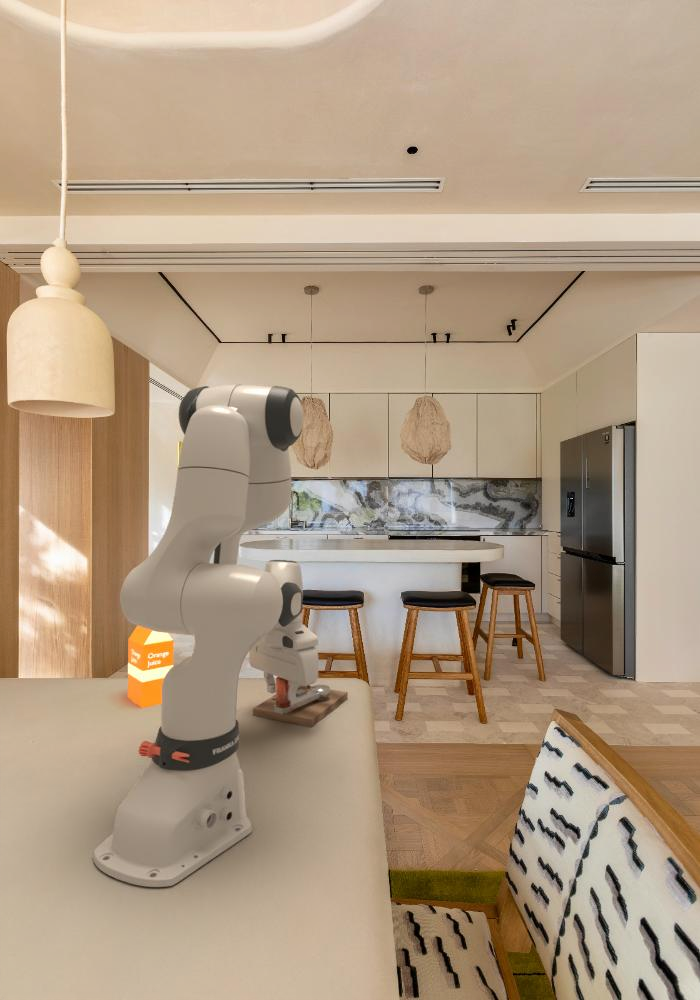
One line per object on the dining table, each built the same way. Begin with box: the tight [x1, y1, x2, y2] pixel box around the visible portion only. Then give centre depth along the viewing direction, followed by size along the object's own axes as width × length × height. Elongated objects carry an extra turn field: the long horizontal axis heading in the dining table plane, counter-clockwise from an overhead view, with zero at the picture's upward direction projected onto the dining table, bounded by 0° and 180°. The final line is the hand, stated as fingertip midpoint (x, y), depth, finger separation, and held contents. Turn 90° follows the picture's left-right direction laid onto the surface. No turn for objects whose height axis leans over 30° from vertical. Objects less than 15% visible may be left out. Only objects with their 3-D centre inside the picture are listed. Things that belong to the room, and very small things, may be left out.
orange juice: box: [127, 625, 175, 709], centre depth 135 cm, size 8×9×20 cm
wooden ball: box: [297, 685, 308, 690], centre depth 138 cm, size 4×4×4 cm
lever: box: [274, 676, 331, 714], centre depth 128 cm, size 17×5×8 cm, turn 144°
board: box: [252, 685, 349, 728], centre depth 132 cm, size 19×15×6 cm
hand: (281, 695), depth 123 cm, fingers open, 5 cm apart
